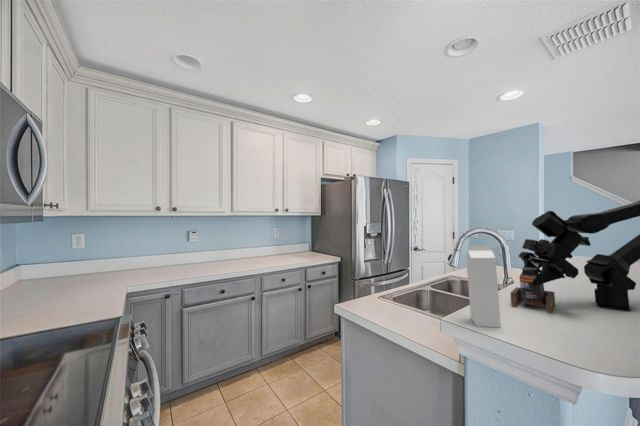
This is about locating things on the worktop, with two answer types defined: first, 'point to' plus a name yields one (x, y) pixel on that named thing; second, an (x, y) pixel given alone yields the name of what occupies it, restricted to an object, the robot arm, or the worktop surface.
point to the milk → (483, 286)
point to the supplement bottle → (531, 287)
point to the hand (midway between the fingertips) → (526, 282)
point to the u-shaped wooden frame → (549, 299)
